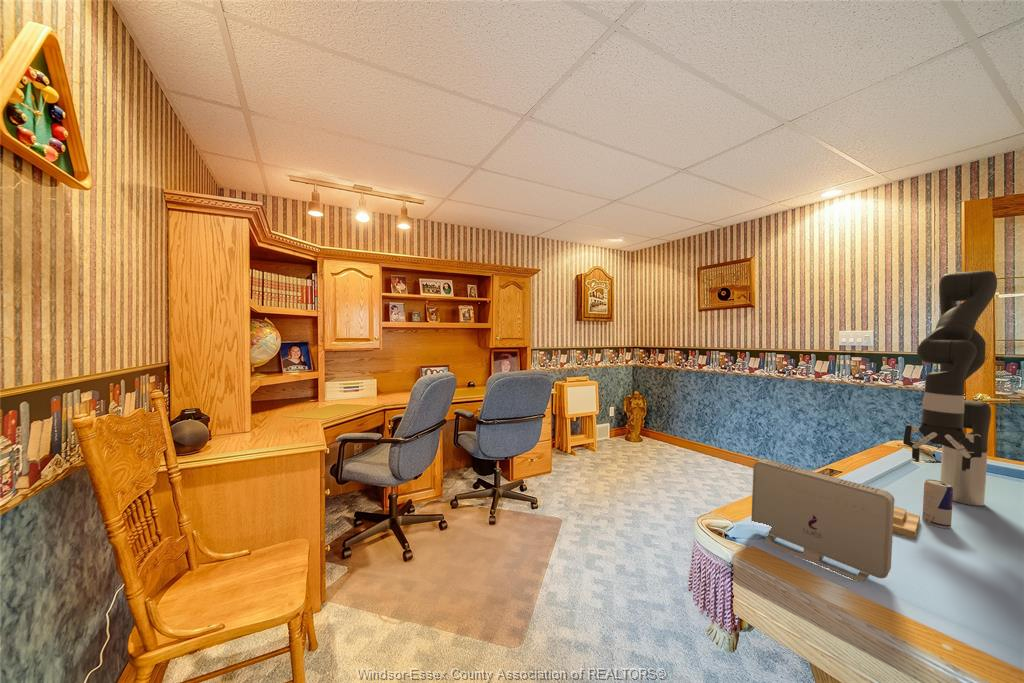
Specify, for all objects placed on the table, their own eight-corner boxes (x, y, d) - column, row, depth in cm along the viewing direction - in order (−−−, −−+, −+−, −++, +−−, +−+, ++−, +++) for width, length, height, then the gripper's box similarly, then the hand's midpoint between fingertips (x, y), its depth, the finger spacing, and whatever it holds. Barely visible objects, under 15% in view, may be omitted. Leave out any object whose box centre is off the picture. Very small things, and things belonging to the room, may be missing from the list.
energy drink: (957, 530, 99) (959, 487, 99) (933, 527, 100) (936, 485, 100) (938, 520, 104) (940, 480, 104) (916, 518, 106) (918, 478, 105)
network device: (747, 535, 95) (750, 462, 94) (760, 525, 100) (763, 455, 99) (884, 594, 74) (889, 500, 73) (892, 578, 79) (896, 489, 79)
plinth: (853, 503, 114) (853, 492, 114) (919, 522, 103) (920, 510, 103) (843, 516, 106) (844, 505, 105) (914, 539, 94) (915, 526, 94)
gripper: (983, 412, 98) (980, 470, 98) (907, 403, 109) (904, 455, 110) (984, 416, 93) (980, 476, 94) (904, 406, 105) (901, 460, 105)
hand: (939, 465), depth 102 cm, fingers open, 8 cm apart
